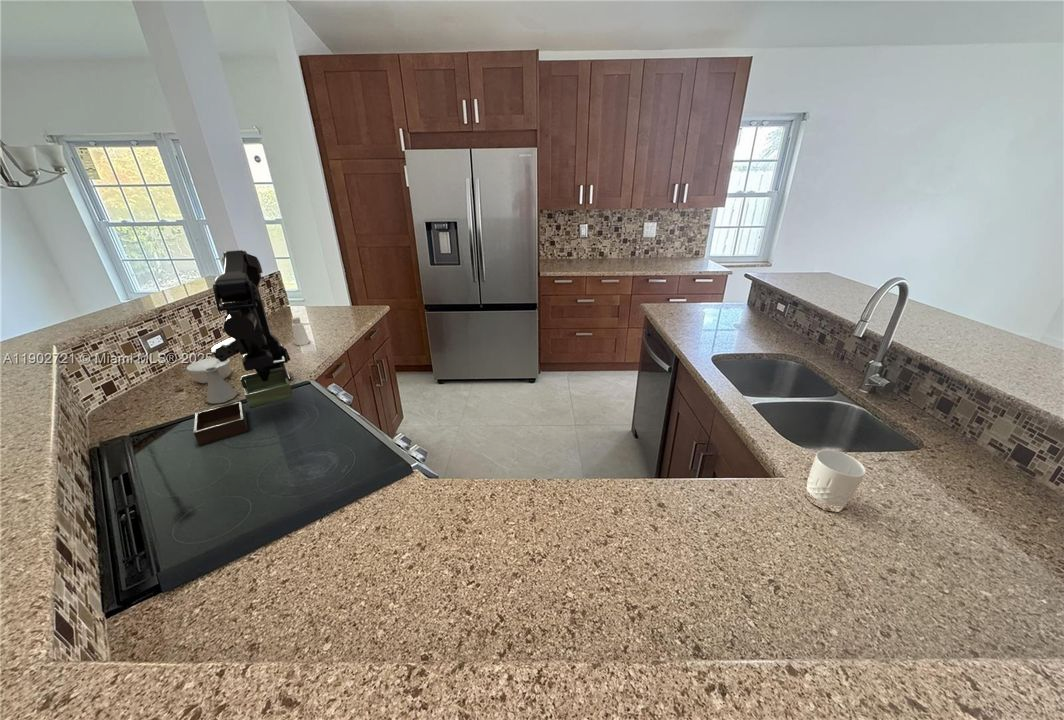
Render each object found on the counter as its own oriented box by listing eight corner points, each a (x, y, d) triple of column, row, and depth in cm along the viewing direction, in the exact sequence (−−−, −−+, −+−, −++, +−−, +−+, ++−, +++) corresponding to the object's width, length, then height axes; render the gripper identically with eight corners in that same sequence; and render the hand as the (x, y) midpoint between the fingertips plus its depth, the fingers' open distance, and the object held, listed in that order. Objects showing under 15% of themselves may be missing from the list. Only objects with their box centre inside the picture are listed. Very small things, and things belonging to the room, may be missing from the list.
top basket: (246, 392, 105) (238, 369, 102) (288, 382, 110) (281, 360, 107) (249, 408, 97) (240, 384, 94) (294, 396, 103) (286, 373, 100)
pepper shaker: (312, 340, 156) (306, 315, 151) (304, 345, 151) (297, 320, 146) (300, 340, 156) (293, 315, 152) (291, 345, 151) (284, 319, 147)
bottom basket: (200, 425, 100) (194, 413, 98) (245, 413, 105) (241, 401, 104) (199, 446, 92) (193, 432, 90) (248, 431, 97) (243, 418, 96)
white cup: (841, 493, 78) (859, 456, 74) (852, 520, 72) (872, 481, 68) (797, 482, 81) (812, 445, 77) (804, 507, 75) (820, 468, 71)
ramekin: (240, 375, 127) (235, 361, 125) (200, 388, 118) (194, 373, 116) (226, 367, 132) (221, 354, 130) (187, 379, 124) (180, 365, 121)
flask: (243, 393, 116) (232, 364, 112) (223, 405, 109) (211, 375, 105) (222, 391, 116) (210, 363, 112) (201, 403, 110) (188, 373, 106)
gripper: (207, 323, 97) (227, 375, 104) (206, 345, 84) (230, 403, 91) (258, 315, 103) (274, 365, 110) (265, 334, 90) (283, 390, 97)
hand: (265, 380), depth 102 cm, fingers closed on top basket
